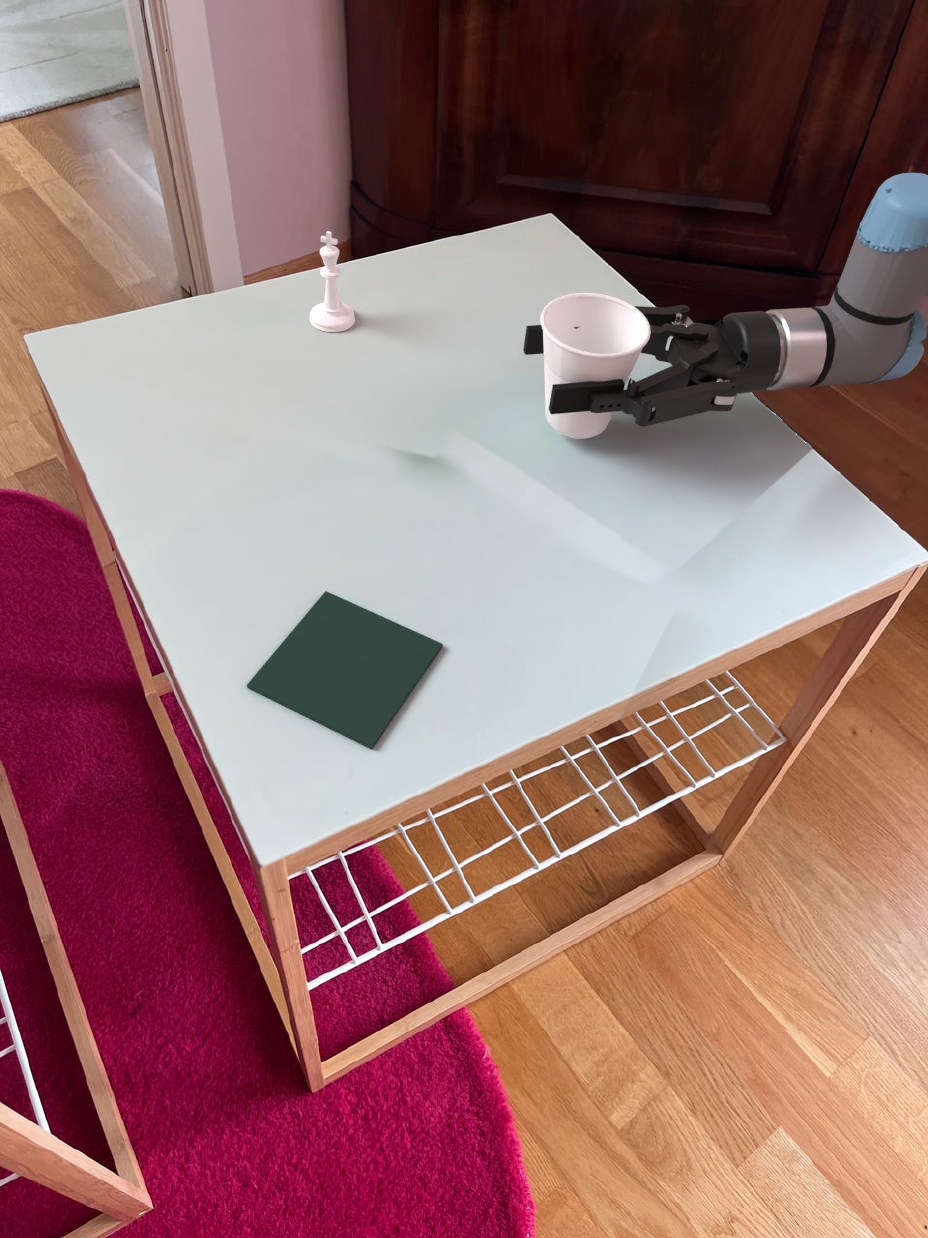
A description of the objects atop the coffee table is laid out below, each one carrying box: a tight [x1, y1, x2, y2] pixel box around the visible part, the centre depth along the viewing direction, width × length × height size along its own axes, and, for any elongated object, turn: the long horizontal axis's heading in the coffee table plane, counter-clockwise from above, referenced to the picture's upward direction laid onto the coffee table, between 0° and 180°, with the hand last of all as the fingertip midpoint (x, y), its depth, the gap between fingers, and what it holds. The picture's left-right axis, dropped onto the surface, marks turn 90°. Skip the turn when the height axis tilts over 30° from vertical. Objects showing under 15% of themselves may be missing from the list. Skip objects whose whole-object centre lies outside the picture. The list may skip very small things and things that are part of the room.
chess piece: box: [309, 230, 356, 333], centre depth 99 cm, size 5×5×10 cm
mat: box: [246, 590, 444, 750], centre depth 74 cm, size 11×11×1 cm
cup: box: [539, 292, 651, 440], centre depth 89 cm, size 10×10×11 cm
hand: (538, 369), depth 87 cm, fingers closed on cup, 8 cm apart
